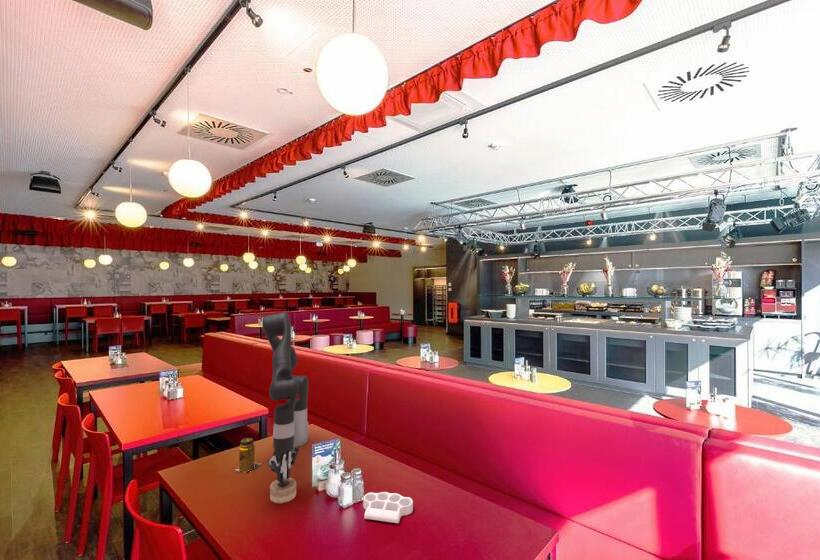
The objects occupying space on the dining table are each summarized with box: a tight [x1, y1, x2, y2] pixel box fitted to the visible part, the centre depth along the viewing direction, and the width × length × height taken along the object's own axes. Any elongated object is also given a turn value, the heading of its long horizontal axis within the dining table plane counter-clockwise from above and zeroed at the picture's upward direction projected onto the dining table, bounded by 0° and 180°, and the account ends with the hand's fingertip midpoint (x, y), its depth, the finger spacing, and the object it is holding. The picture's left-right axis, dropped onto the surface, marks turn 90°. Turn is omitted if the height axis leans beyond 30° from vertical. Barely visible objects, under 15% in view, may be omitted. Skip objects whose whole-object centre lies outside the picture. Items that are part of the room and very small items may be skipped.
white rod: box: [280, 460, 287, 487], centre depth 140 cm, size 2×2×12 cm
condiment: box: [234, 437, 263, 472], centre depth 161 cm, size 7×8×12 cm
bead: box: [269, 477, 297, 504], centre depth 140 cm, size 9×9×4 cm
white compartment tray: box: [362, 491, 414, 524], centre depth 132 cm, size 3×18×15 cm
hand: (283, 479), depth 140 cm, fingers closed on white rod, 2 cm apart
